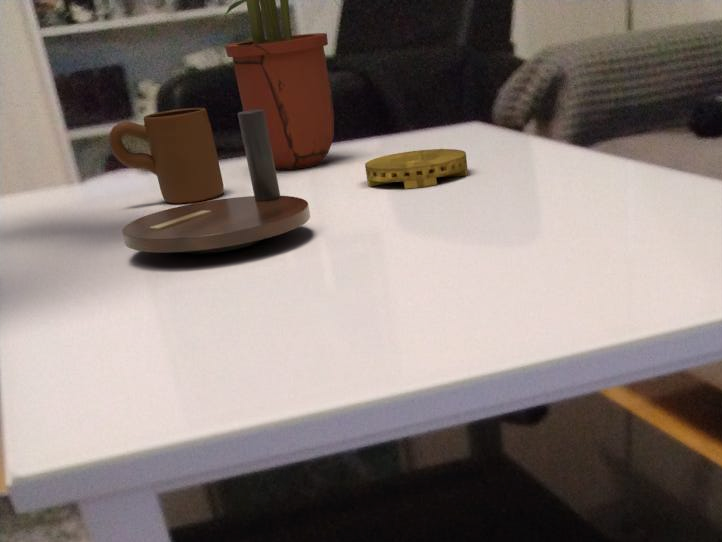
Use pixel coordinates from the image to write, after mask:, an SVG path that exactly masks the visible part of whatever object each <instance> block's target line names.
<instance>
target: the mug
mask: <svg viewBox="0 0 722 542" xmlns="http://www.w3.org/2000/svg"><path fill="white" fill-rule="evenodd" d="M211 125H212V124H211V122H210V118H209V115H208V112H207V109H206V108H205V107H188V108H187V107H186V108H178V109H171V110H164V111H158V112H154V113H149V114H147V115H144V116H143V124H139V123H137V122H132V121H127V120H126V121H122V122H119V123H117V124H116V125H114V126H113V127H112V128H111V130H110V132H109V137H108V143H109V147H110V149H111V152H112V154H113V155H114V157H115V158H116V159H117V160H118V161H119V162H120V163H121V164H122V165H124V166H127V167H128V168H131V169H139V170H141V169H143V170H146V171H149V172H150V173H152V174H154V175H155V176H156V178H157V183H158V185H159V189H160V193H161V196H162V198H163V199H164V201H165V202H166V203H169V204H191V203H199V202H204V201H208V200H211V199H214V198H217V197H219V196H221V195H223V193H224V189H225V186H224V182H223V176H222V170H221V166H220V162H219V157H218V153H217V148H216V143H215V139H214V138H215V137H214V134H213V129H212V126H211ZM124 137H130V138H133V139H138V140H142V141H145V142H147V143H148V147H149V151H150V154H149V153H145V152H131V151H129V150H128V149H127V148H126V146H125V144H124V142H123V138H124Z"/></svg>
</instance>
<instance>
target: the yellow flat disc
mask: <svg viewBox="0 0 722 542" xmlns="http://www.w3.org/2000/svg"><path fill="white" fill-rule="evenodd" d="M467 160H468V159H467V152H466V151H465V150H462V149H454V148H432V149H420V150H411V151H404V152H397V153H392V154H388V155H383V156H379V157H375V158H373V159H370V160H368V161H367V162H365V163H364V168H365V175H366V182H367V186H368V187H375V186H376V187H377V186H382V185H387V184H393V183H403V185H404V190H405V189H407V190H408V189H416V188H417V189H419V188H424V187H425V188H426V187H432V186H437V185H438V182H437V181H438V180H437V178H448V177H449V178H451V177H452V178H453V177H466V176H468V174H469V171H468V161H467Z"/></svg>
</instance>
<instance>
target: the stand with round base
mask: <svg viewBox="0 0 722 542" xmlns="http://www.w3.org/2000/svg"><path fill="white" fill-rule="evenodd" d="M237 119H238V124H239V129H240V133H241V138H242V144H243V147H244V152H245V157H246V163H247V166H248V171H249V177H250V181H251V186H252V191H253V195H249V196H236V197H228V198H227V197H226V198H220V199H212V200H205V201H199V202H193V203H188V204H184V205H181V206H176V207H175V206H174V207H171V208H167V209H163V210H160V211H156V212H153V213H150V214H147V215H144V216H141V217H139V218H136V219H134V220H132V221H130V222H129V223H127V224H126V225H124V226H123V228H122V229H121V233H122V236H123V240H124V243H125V246H126V247H127V248H129V249H131V250H134V251H139V252H145V253H146V252H147V253H187V254H193V255H207V254H208V255H209V254H218V253H219V254H220V253H225V252H232V251H236V250H239V249H244V248H247V247H251V246H253V245H255V244H257V243H259V242H260V241H262V240H267V239H270V238H272V237H277V236H280V235H282V234H285V233H289V232H291V231H293V230H295V229H298V228H300V227H302V226H303V225H305V224H306V223H307V222H309V220H310V219H311V212H310V206H309V202H308V201H307V200H306V199H304V198H302V197H298V196H289V195H281V192H280V187H279V182H278V181H279V180H278V177H277V170H276V168H275V165H274V160H273V154H272V149H271V144H270V139H269V134H268V128H267V123H266V118H265V113H264V110H262V109H258V110H248V111H243V110H242V111H239V112H238V113H237Z"/></svg>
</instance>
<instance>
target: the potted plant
mask: <svg viewBox="0 0 722 542" xmlns="http://www.w3.org/2000/svg"><path fill="white" fill-rule="evenodd" d="M334 2H335V3H336V5H337V6H338V7H339V8H340V9H341V7H340V6H339V4H338V2H337V1H336V0H334ZM244 3H246V8H247V16H248V21H249V27H250V33H251V34H250V35H251V40H245V41H239V42H233V43H230V44H226V45H224V48H225V52H226V57H228V58H232V62H233V68H234V72H235V77H236V83H237V87H238V91H239V92H238V93H239V97H240V101H241V102H240V103H241V106H242V112H243V111H248V110H258V109H262V110H264V113H265V118H266V123H267V128H268V134H269V139H270V144H271V149H272V154H273V160H274V165H275V169H278V170H282V171H283V170H284V171H286V170H298V169H299V170H300V169H304V168H309V167H315V166H317V165H318V164H320V163H321V162H323V161H324V160H325V158H326V157H327V155H328V154H329V152H330V150H331V146H332V143H333V140H334V137H335V134H334V133H335V132H334V131H335V127H334V126H335V123H334V122H335V113H334V107H333V99H332V98H333V97H332V92H331V90H332V89H331V85H330V79H329V71H328V64H327V59H326V53H325V52H326V51H325V46H328V45H329V42H328V41H329V40H328V33H326V32H317V33H303V34H292V32H293V30H294V28H295V26H296V24H294V26H293V27H292V28H291V19H290V7H289V6H290V5H289V4H290V3H289V0H279V4H280V15H281V22H282V23H281V24H282V30H283V36H282V31H281V25H280V19H279V14H278V7H277V2H276V0H237V1H235V2H234V3H232V4H231V5H229V6H228V8H227V10H226V12H225V14H224V17H226V16H227V15H228V14H229V13H230V12H231V11H232V10H234V9H235V8H237V7H239V6H240V5H242V4H244ZM264 29H265V30H264ZM265 34H266V37H265Z"/></svg>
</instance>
